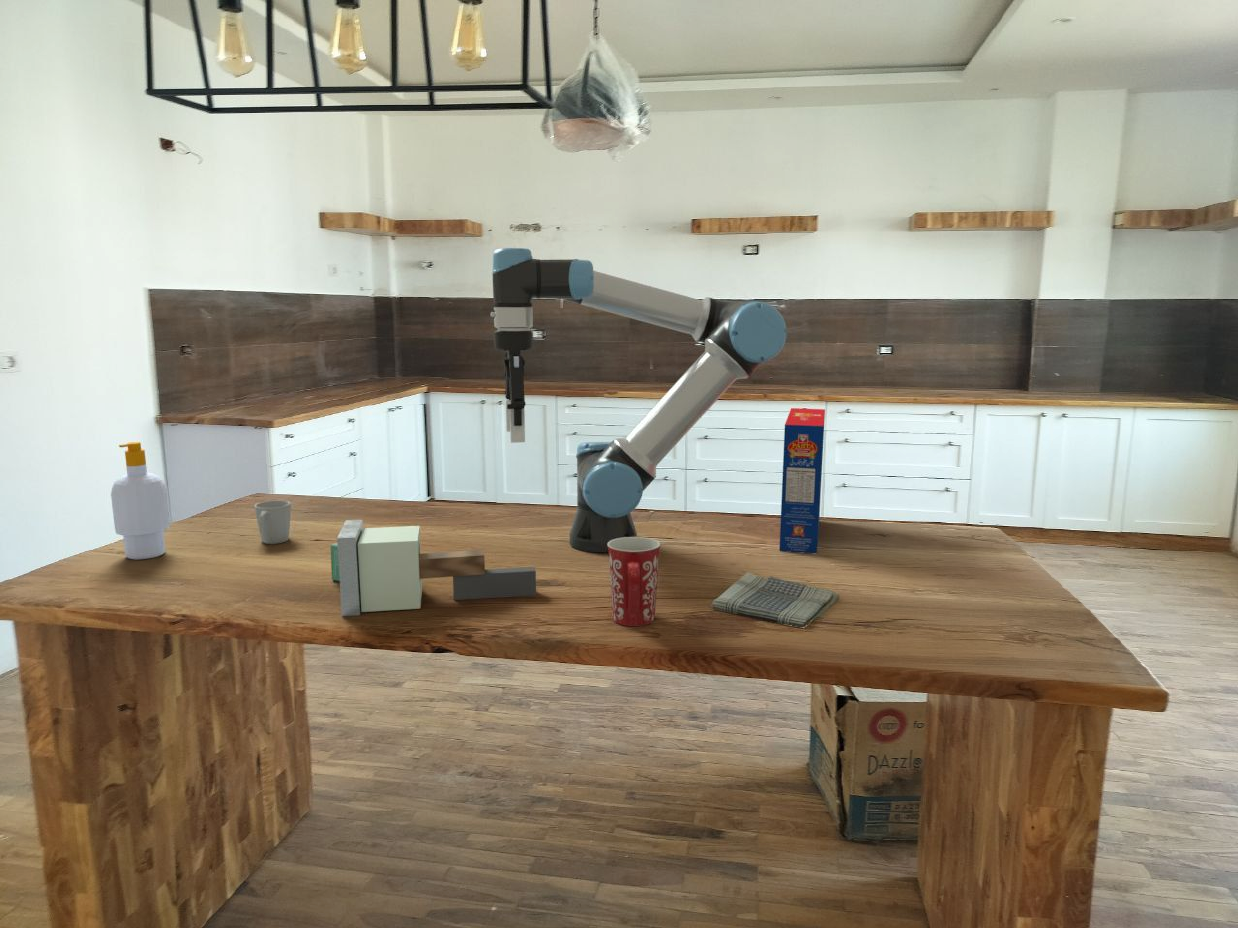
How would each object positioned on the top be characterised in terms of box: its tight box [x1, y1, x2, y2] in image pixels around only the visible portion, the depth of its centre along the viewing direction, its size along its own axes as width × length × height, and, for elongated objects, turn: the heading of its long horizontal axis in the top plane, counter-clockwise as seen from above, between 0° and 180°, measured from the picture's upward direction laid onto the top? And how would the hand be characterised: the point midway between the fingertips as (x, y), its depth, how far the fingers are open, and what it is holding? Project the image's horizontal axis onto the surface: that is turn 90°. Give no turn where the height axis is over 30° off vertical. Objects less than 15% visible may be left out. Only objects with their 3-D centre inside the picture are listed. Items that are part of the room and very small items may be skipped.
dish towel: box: [711, 572, 841, 628], centre depth 155 cm, size 19×18×3 cm
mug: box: [607, 536, 662, 627], centre depth 144 cm, size 13×9×14 cm
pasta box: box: [779, 407, 826, 554], centre depth 196 cm, size 28×8×28 cm, turn 166°
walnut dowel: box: [419, 548, 486, 580], centre depth 155 cm, size 16×4×4 cm, turn 101°
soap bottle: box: [110, 441, 171, 560], centre depth 179 cm, size 10×10×24 cm
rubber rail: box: [452, 566, 537, 601], centre depth 158 cm, size 15×2×5 cm, turn 101°
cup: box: [254, 499, 292, 545], centre depth 190 cm, size 8×10×8 cm
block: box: [358, 525, 423, 613], centre depth 153 cm, size 10×10×12 cm
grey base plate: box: [336, 519, 364, 617], centre depth 152 cm, size 3×12×14 cm, turn 11°
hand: (515, 436), depth 171 cm, fingers open, 13 cm apart
